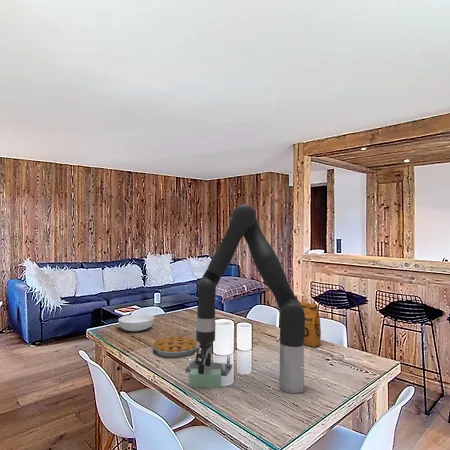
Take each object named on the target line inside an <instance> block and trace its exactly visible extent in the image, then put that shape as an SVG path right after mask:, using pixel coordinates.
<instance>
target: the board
mask: <svg viewBox="0 0 450 450" xmlns="http://www.w3.org/2000/svg"><path fill="white" fill-rule="evenodd" d="M188 378H189V380H188V387H189V388H217V389H218V388H219V389H220V388H221V382H222V376H221V370H216V369H204V374H198V369H191V371H190V372H189V376H188Z"/></svg>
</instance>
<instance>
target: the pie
mask: <svg viewBox="0 0 450 450" xmlns="http://www.w3.org/2000/svg"><path fill="white" fill-rule="evenodd" d="M153 348H154V350H155V351H156V353H157V355H158V356H161V357H162V358H182V357H188V356H191V355H192V354H194V353H195V351H196V349H197V348H198V342H197V341H196V340H195V339H194V338H190V337H188V336H180V335H179V336H177V337H176V336H170V337H163V338H158V339H157V340H155V341H154V344H153Z"/></svg>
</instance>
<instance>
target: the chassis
mask: <svg viewBox="0 0 450 450" xmlns="http://www.w3.org/2000/svg"><path fill="white" fill-rule="evenodd" d="M196 353H197V351H194V360H192V358H188V365H187V367H186V368H185V372H189V373H190V371H191V369H198V364H196ZM232 368H233V364H231V355H226V362H225V361H224V362H223V361H222V362H214V361H213V362H212V361H211V365H210V366H205V364H204V369H216V370H221V377H227V376H228V374H229V372H230V371H231V369H232Z"/></svg>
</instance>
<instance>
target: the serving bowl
mask: <svg viewBox="0 0 450 450" xmlns="http://www.w3.org/2000/svg"><path fill="white" fill-rule="evenodd" d="M154 321H155V317H154V316H153V315H151V314H147V313H136V314H128V315H123V316H121V317H119V318H118V324H119V327H120V328H121V329H123V330H125V331H127V332H128V331H129V332H142V331H144V330H147V329H150V327H152V325H153V324H154Z"/></svg>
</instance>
